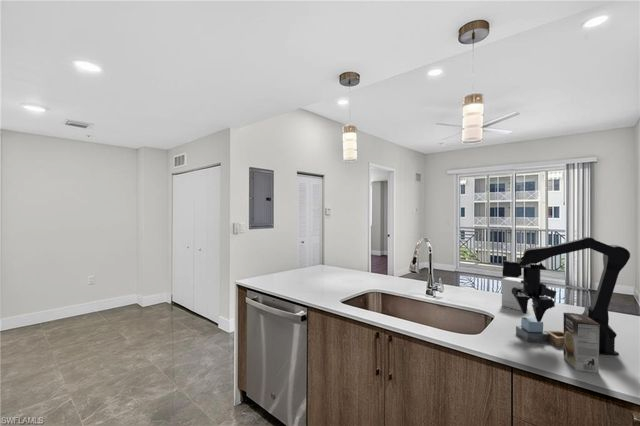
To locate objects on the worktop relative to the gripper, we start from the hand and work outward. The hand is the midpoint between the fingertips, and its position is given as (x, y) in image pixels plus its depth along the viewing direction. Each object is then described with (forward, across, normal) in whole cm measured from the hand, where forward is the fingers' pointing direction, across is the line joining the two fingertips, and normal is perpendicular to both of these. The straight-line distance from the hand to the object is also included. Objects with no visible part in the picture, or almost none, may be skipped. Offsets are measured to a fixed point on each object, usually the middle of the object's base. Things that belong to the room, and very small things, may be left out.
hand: (531, 317), depth 123 cm
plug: (+8, 0, 0) cm, 8 cm away
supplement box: (+9, +40, -15) cm, 44 cm away
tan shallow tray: (+8, -4, -8) cm, 12 cm away
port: (+8, 0, 0) cm, 8 cm away
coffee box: (+9, -21, -3) cm, 23 cm away
